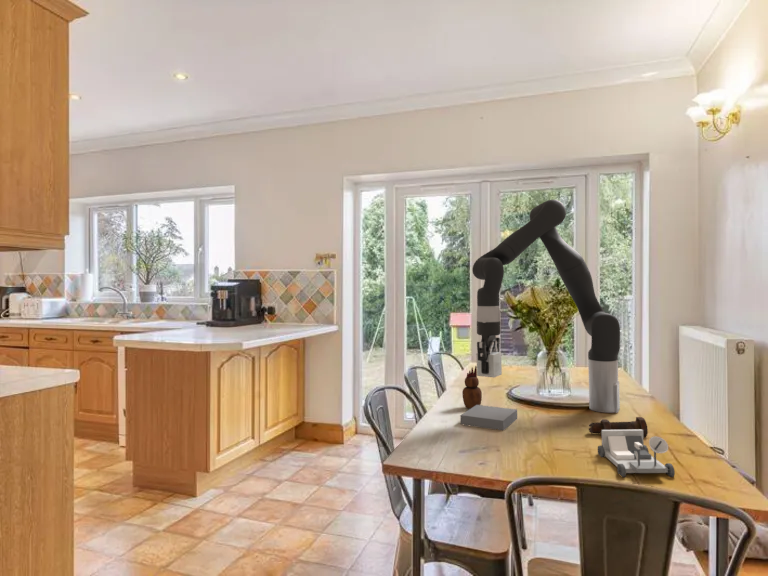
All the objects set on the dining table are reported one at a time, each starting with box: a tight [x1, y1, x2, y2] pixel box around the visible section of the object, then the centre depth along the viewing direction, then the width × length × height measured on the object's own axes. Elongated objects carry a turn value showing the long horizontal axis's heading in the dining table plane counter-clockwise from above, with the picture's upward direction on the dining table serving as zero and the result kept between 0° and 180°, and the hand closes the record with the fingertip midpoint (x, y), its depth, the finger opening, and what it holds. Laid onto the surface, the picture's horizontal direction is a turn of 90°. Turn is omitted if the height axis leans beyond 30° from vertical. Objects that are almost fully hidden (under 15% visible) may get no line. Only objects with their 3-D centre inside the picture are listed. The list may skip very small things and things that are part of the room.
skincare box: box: [475, 351, 503, 379], centre depth 157 cm, size 6×6×7 cm
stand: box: [459, 404, 518, 431], centre depth 157 cm, size 14×14×3 cm
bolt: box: [588, 416, 649, 438], centre depth 141 cm, size 6×5×15 cm
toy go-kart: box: [597, 429, 676, 478], centre depth 117 cm, size 18×10×12 cm
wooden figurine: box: [461, 365, 483, 410], centre depth 174 cm, size 7×6×15 cm
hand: (489, 371), depth 157 cm, fingers closed on skincare box, 6 cm apart
